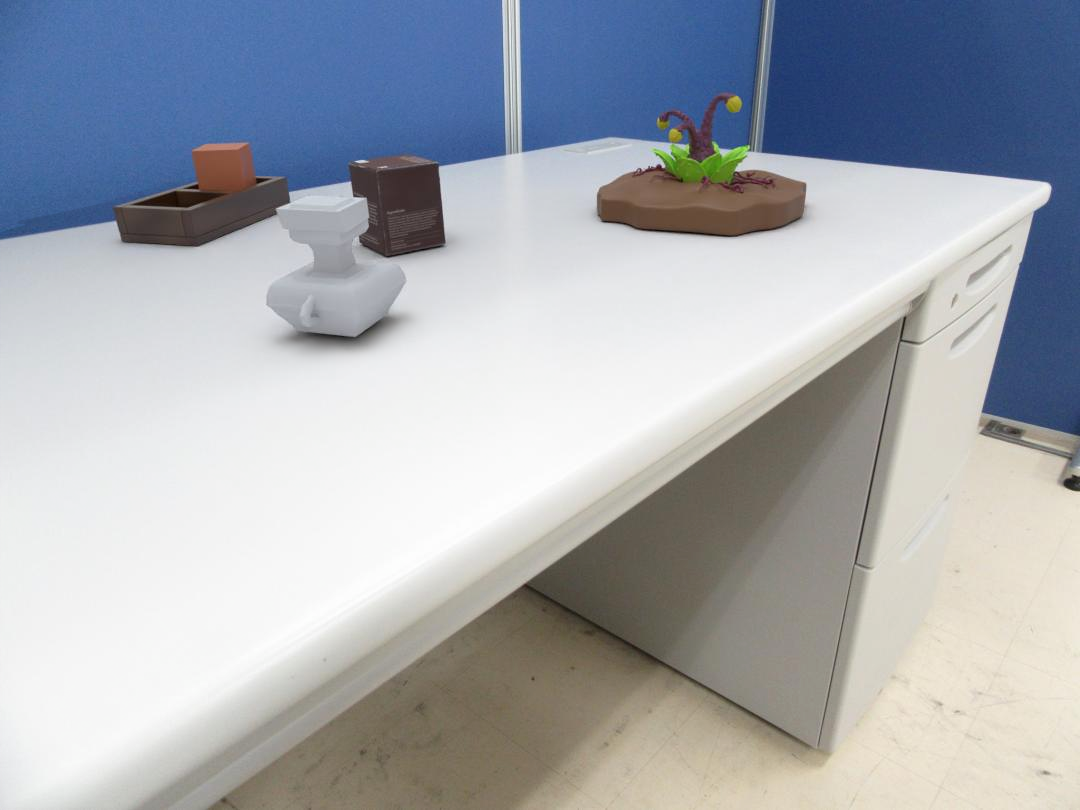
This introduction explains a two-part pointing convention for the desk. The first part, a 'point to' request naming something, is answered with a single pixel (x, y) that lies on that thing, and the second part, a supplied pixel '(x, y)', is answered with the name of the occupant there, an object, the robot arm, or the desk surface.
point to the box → (400, 202)
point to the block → (224, 166)
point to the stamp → (333, 270)
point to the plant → (701, 187)
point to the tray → (199, 212)
